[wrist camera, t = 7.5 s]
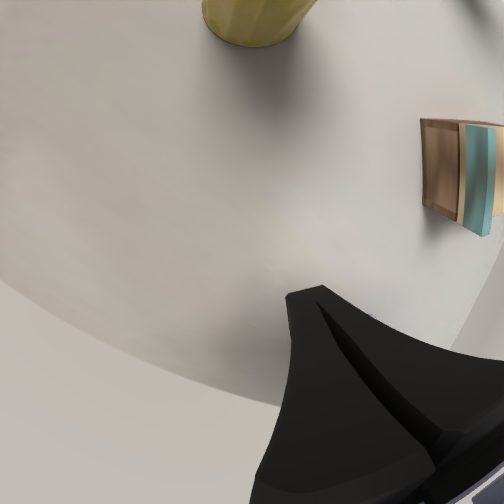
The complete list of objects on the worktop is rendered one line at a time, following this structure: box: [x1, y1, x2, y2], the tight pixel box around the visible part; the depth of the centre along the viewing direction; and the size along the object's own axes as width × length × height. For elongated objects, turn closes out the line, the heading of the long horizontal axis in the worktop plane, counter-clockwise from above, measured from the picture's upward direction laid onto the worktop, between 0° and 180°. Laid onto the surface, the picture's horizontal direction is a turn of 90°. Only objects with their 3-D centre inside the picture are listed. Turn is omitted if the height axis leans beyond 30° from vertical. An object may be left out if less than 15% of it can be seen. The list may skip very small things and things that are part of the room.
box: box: [420, 118, 504, 221], centre depth 17 cm, size 7×9×4 cm
